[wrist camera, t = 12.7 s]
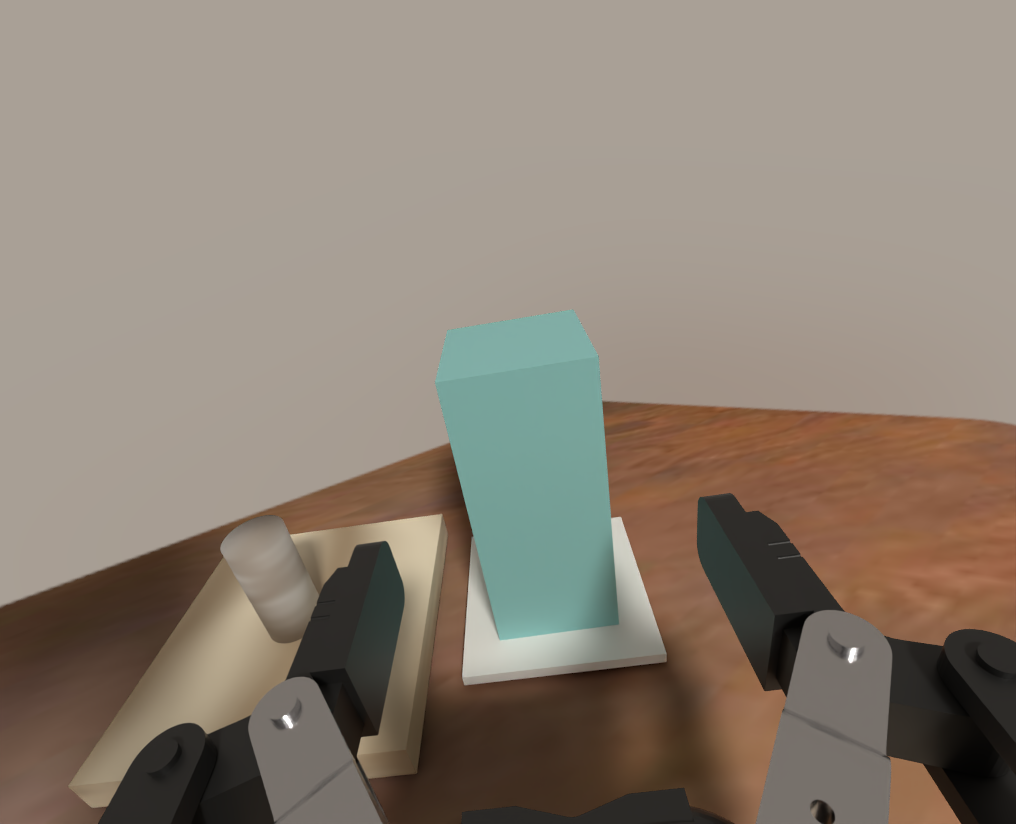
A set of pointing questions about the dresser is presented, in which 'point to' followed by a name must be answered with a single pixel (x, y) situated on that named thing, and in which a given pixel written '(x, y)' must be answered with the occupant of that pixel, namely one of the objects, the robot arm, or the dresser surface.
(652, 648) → the mat
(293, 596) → the post stand
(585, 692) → the dresser surface
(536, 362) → the tall teal pillar
